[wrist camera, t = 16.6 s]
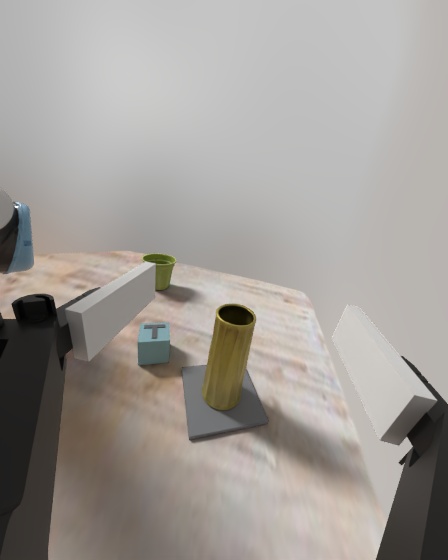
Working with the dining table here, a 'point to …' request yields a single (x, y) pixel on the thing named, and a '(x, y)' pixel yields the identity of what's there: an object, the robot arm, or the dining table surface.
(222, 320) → the vase
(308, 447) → the dining table surface
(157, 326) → the letter cube
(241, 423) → the slate mat
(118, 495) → the dining table surface
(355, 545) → the dining table surface
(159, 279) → the plant pot
